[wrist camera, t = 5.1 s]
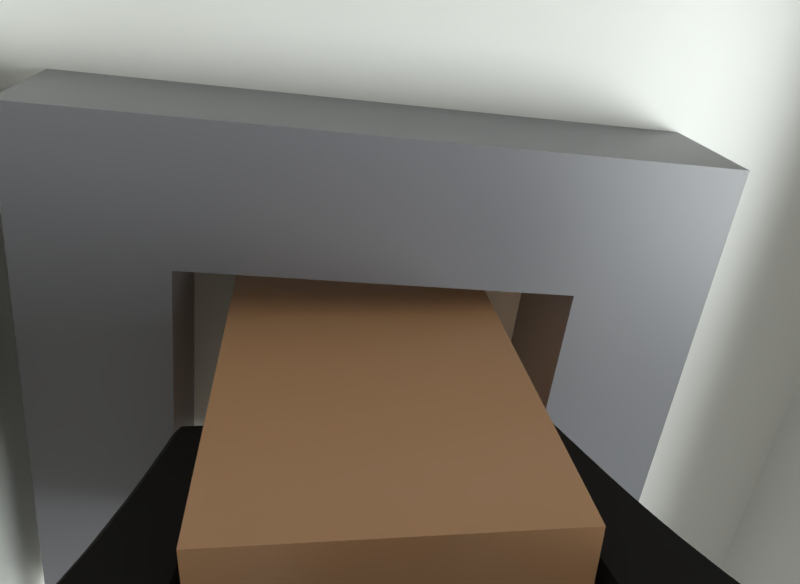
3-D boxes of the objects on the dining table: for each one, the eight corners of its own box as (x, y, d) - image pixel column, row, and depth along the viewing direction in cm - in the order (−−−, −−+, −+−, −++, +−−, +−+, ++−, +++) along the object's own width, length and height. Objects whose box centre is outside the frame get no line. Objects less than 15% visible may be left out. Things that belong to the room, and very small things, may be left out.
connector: (466, 254, 12) (690, 689, 5) (451, 436, 13) (606, 965, 6) (240, 257, 11) (135, 737, 4) (251, 445, 13) (186, 1020, 6)
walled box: (999, -47, 11) (1277, -39, 8) (701, 646, 17) (788, 804, 14) (-98, -215, 9) (-329, -301, 5) (26, 657, 15) (-48, 849, 12)
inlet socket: (677, 131, 11) (749, 170, 9) (553, 569, 15) (586, 656, 13) (46, 68, 10) (-14, 99, 8) (88, 569, 13) (54, 666, 12)
